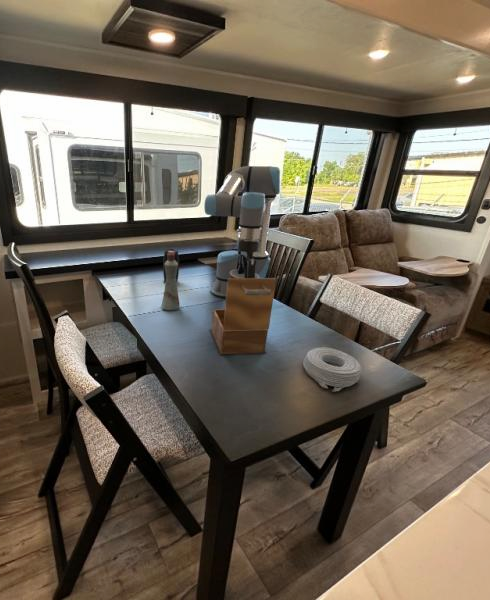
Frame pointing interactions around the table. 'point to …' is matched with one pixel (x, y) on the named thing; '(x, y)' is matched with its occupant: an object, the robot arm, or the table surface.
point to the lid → (248, 303)
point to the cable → (332, 368)
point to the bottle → (170, 284)
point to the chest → (236, 337)
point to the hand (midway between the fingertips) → (241, 298)
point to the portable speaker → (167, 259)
